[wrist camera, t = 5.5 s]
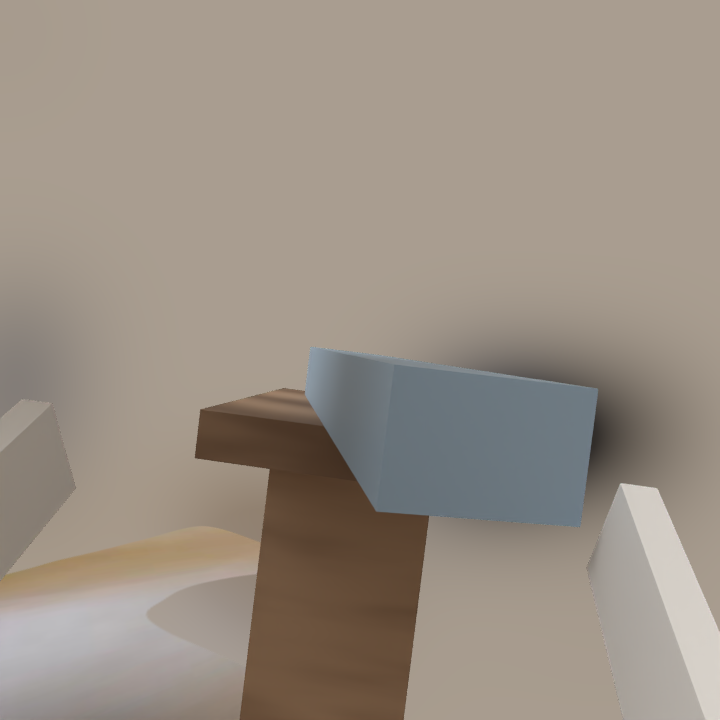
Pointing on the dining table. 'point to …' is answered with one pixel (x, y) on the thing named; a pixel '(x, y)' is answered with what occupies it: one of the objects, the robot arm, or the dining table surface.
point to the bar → (456, 437)
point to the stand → (319, 570)
